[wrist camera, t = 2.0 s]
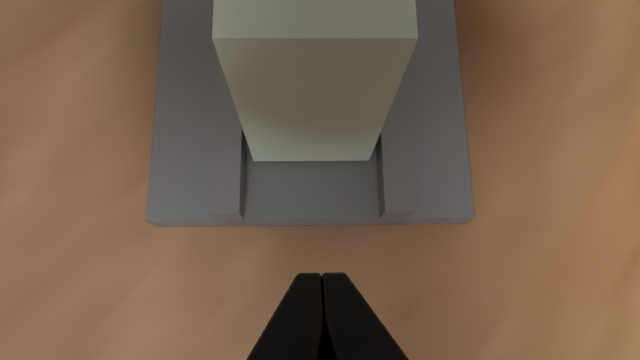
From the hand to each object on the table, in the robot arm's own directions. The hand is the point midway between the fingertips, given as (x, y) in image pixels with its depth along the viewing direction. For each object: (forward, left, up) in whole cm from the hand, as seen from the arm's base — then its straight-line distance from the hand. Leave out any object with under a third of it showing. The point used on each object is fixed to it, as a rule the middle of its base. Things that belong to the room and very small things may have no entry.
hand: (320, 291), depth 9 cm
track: (+9, -7, -14) cm, 18 cm away
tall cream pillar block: (+7, -6, -12) cm, 15 cm away
